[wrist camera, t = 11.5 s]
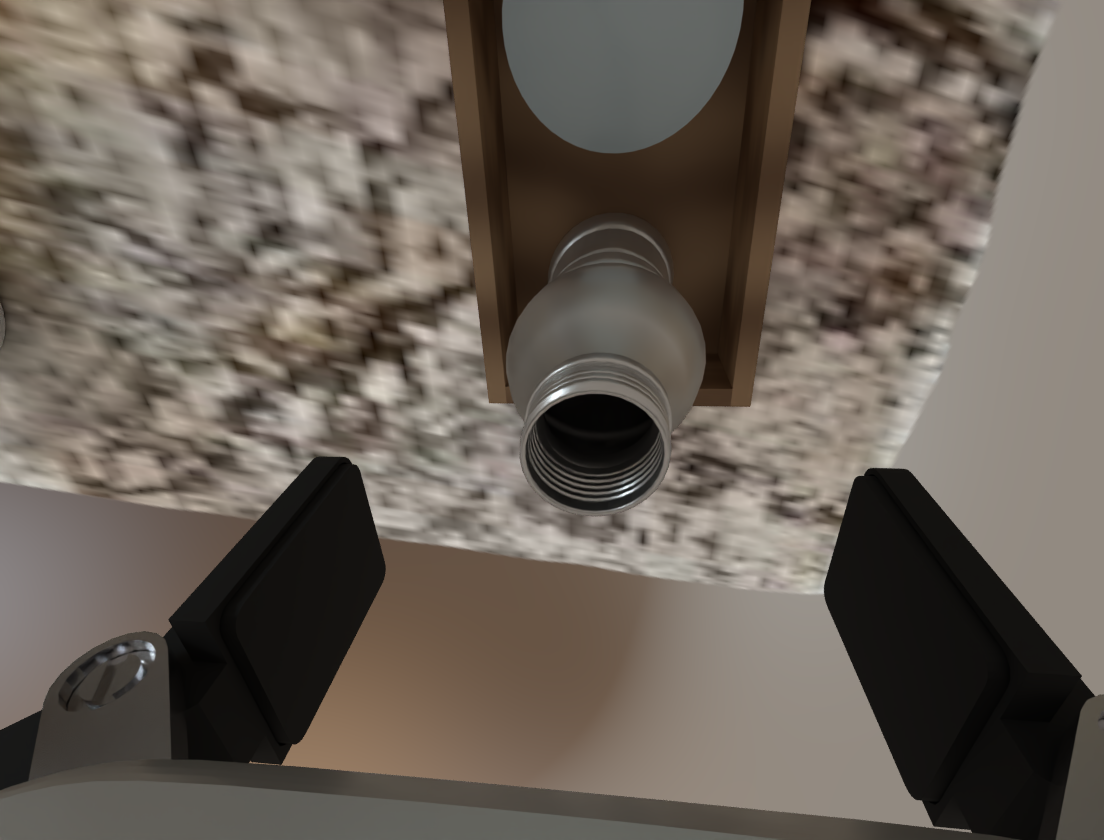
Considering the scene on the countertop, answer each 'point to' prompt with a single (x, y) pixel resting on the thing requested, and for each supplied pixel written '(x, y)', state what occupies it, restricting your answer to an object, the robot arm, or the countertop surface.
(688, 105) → the jar
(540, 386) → the grey metal bottle
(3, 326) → the pitcher
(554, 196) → the crate
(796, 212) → the countertop surface
